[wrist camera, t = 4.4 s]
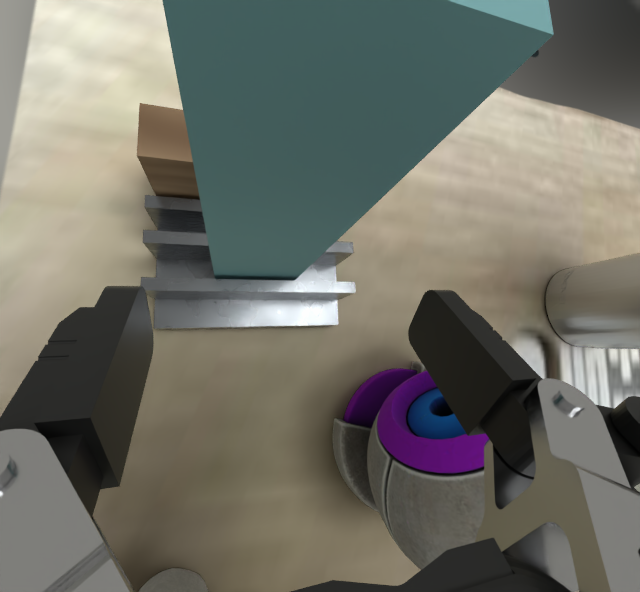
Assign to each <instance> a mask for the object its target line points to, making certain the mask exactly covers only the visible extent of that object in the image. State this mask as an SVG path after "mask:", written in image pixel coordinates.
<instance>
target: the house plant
mask: <svg viewBox="0 0 640 592" xmlns="http://www.w3.org/2000/svg"><path fill="white" fill-rule="evenodd" d="M139 592H208V589H207V586H206V584H205V581H204V580H203V579H202V578H201V576H200V575H199V574H197V573H195V572H193V571H190V570H186V569H180V568H171V569H168V570H165V571H162V572H160V573H158V574H157V575H155V576H153V577H152V578H151V579H150V580H148V581H147V582H146V583H145V584H144V585H143V586H142V587H141V589H140V590H139Z"/></svg>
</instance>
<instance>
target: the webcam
mask: <svg viewBox="0 0 640 592" xmlns="http://www.w3.org/2000/svg"><path fill="white" fill-rule="evenodd" d="M488 439H489V438H488V436H487V435H486V434H479V435H472V436H468V435H467V434H466V432H465V430H464V429H463V427H462V426H461V424H460V423H459V421H458V419H457V418H456V416H455V415H454V413H453V411H452V410H451V408H450V407H449V405H448V403H447V402H446V400H445V399H444V397H443V395H442V394H441V392H440V391H439V389H438V387H437V386H436V384H435V383H434V381H433V379H432V378H431V376H430V375H429V373H428V371H427V370H426V368H425V367H424V365H423V364H422V363H419V362H412V367H411V370H409V369H401V368H400V369H389V370H385V371H382V372H379V373H378V374H376V375H374V376H372V377H371V378H369V379H368V380H367V381H365V382H364V383H363V384H362V385H361V386H360V387H359V389H358V390H357V391H356V392H355V394H354V395H353V397H352V398H351V400H350V402H349V404H348V406H347V409H346V412H345V415H344V419H343V420H341V419H336V418H335V419H334V426H333V450H334V455H335V460H336V463H337V466H338V469H339V471H340V474H341V476H342V478H343V479H344V481H345V483H346V484H347V485H348V487H349V488H350V489H351V491H352V492H353V493H354V494H355V495H356V496H357V497H358V498H359V499H360V500H361V501H362V502H363V503H364V504H366V505H367V506H368V507H370V508H372V509H373V510H375V511H377V512H379V513H380V515H381V517H382V519H383V521H384V523H385V525H386V527H387V529H388V531H389V533H390V534H391V536H392V538H393V540H394V541H395V542H396V544H397V545H398V546H399V548H400V549H401V550H402V551H403V553H404V554H405V555H406V556H407V557H408V558H409V559H410V560H411V561H412V562H413V563H414V564H415V565H416V566H417V567H418V568H419V569H421V570H422V569H423V568H425V567H426V566H427V565H428V564H430V563H431V562H432V561H434V560H435V559H436V558H437V557H439V556H440V555H441V554H442V553H444V552H445V551H446V550H448V549H452V548H456V547H459V546H463V545H467V544H471V543H474V542H475V540H476V536H477V533H478V530H479V528H480V526H481V524H482V521H483V518H484V512H485V494H484V446H485V443H486V442H487V440H488Z"/></svg>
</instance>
